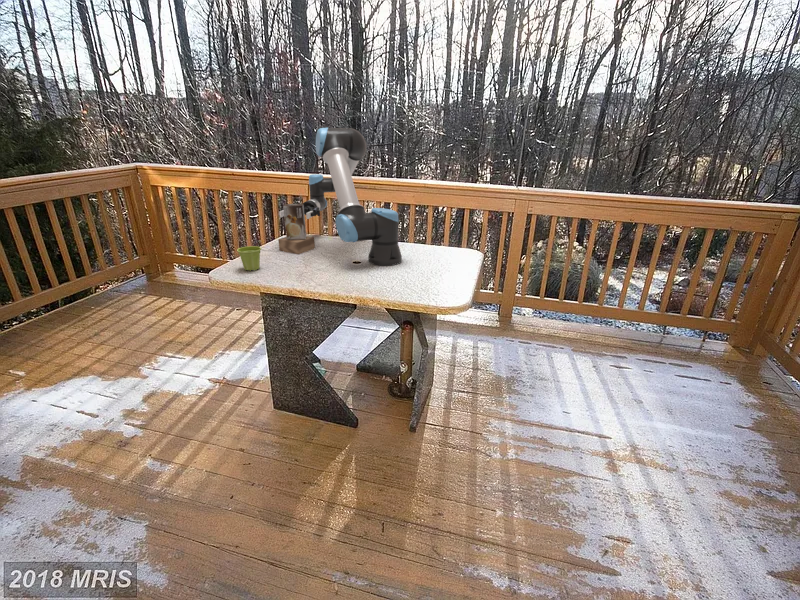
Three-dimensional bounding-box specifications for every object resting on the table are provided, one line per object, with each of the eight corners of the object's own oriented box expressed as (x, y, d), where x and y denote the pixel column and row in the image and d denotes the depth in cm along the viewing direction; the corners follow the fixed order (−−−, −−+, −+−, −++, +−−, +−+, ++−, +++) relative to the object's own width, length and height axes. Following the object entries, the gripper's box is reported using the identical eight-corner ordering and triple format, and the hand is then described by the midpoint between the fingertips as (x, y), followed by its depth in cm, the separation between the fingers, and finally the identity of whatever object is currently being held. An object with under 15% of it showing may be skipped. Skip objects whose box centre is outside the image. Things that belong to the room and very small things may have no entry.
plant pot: (236, 268, 165) (233, 248, 162) (257, 264, 171) (255, 244, 168) (245, 274, 159) (242, 253, 156) (267, 269, 165) (265, 249, 162)
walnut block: (315, 249, 196) (314, 237, 193) (298, 255, 186) (297, 242, 183) (296, 245, 201) (295, 234, 198) (279, 251, 191) (278, 239, 189)
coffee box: (306, 236, 194) (304, 203, 188) (305, 239, 189) (303, 205, 182) (287, 236, 193) (284, 203, 187) (286, 239, 187) (282, 205, 181)
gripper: (333, 216, 205) (319, 224, 186) (289, 213, 209) (270, 221, 190) (333, 201, 202) (318, 208, 183) (287, 199, 206) (268, 206, 187)
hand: (293, 215), depth 186 cm, fingers open, 13 cm apart
